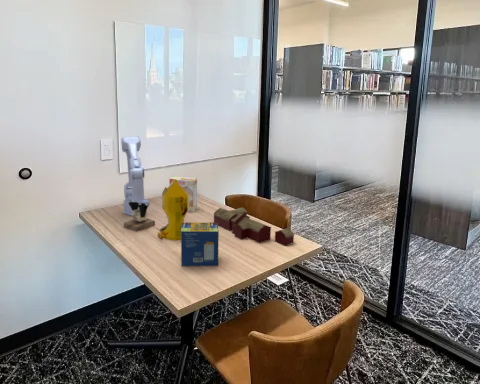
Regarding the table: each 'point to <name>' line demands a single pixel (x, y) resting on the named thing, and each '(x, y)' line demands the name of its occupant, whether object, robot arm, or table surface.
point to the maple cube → (138, 215)
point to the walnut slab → (139, 224)
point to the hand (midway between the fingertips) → (139, 216)
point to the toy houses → (250, 227)
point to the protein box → (199, 244)
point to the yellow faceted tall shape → (174, 210)
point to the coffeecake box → (188, 190)
